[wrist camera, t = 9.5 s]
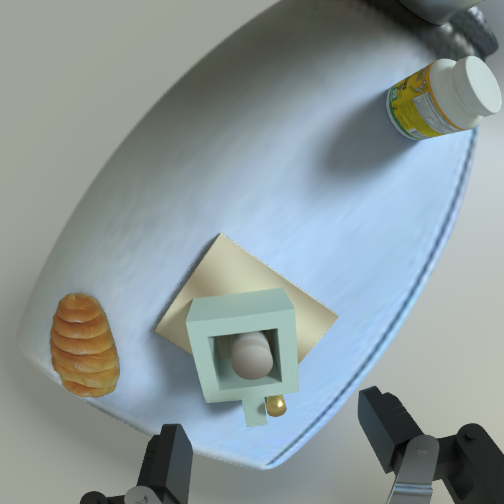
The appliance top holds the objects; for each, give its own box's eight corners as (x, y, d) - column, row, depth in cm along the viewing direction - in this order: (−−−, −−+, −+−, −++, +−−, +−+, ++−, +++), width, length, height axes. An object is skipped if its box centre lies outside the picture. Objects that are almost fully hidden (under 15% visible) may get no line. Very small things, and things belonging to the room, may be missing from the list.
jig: (220, 232, 20) (216, 247, 14) (333, 311, 22) (365, 347, 16) (157, 324, 21) (136, 367, 15) (267, 387, 23) (277, 436, 17)
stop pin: (268, 371, 21) (275, 401, 18) (281, 378, 22) (290, 407, 18) (258, 382, 22) (263, 412, 18) (271, 389, 22) (278, 418, 18)
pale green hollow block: (193, 298, 20) (185, 322, 16) (282, 287, 20) (294, 308, 16) (217, 406, 22) (216, 438, 18) (290, 396, 22) (299, 427, 18)
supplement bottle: (406, 151, 20) (489, 137, 11) (372, 97, 19) (444, 55, 9) (439, 125, 20) (514, 109, 10) (408, 76, 19) (477, 40, 9)
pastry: (54, 282, 20) (31, 296, 16) (120, 296, 21) (102, 314, 17) (66, 369, 22) (50, 390, 18) (125, 385, 22) (113, 410, 19)
